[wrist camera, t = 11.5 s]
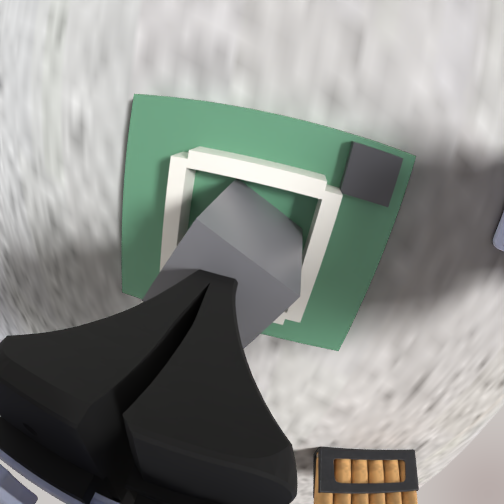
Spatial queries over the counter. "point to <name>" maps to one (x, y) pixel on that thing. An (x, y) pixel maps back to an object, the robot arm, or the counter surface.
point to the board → (271, 189)
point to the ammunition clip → (364, 476)
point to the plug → (242, 256)
